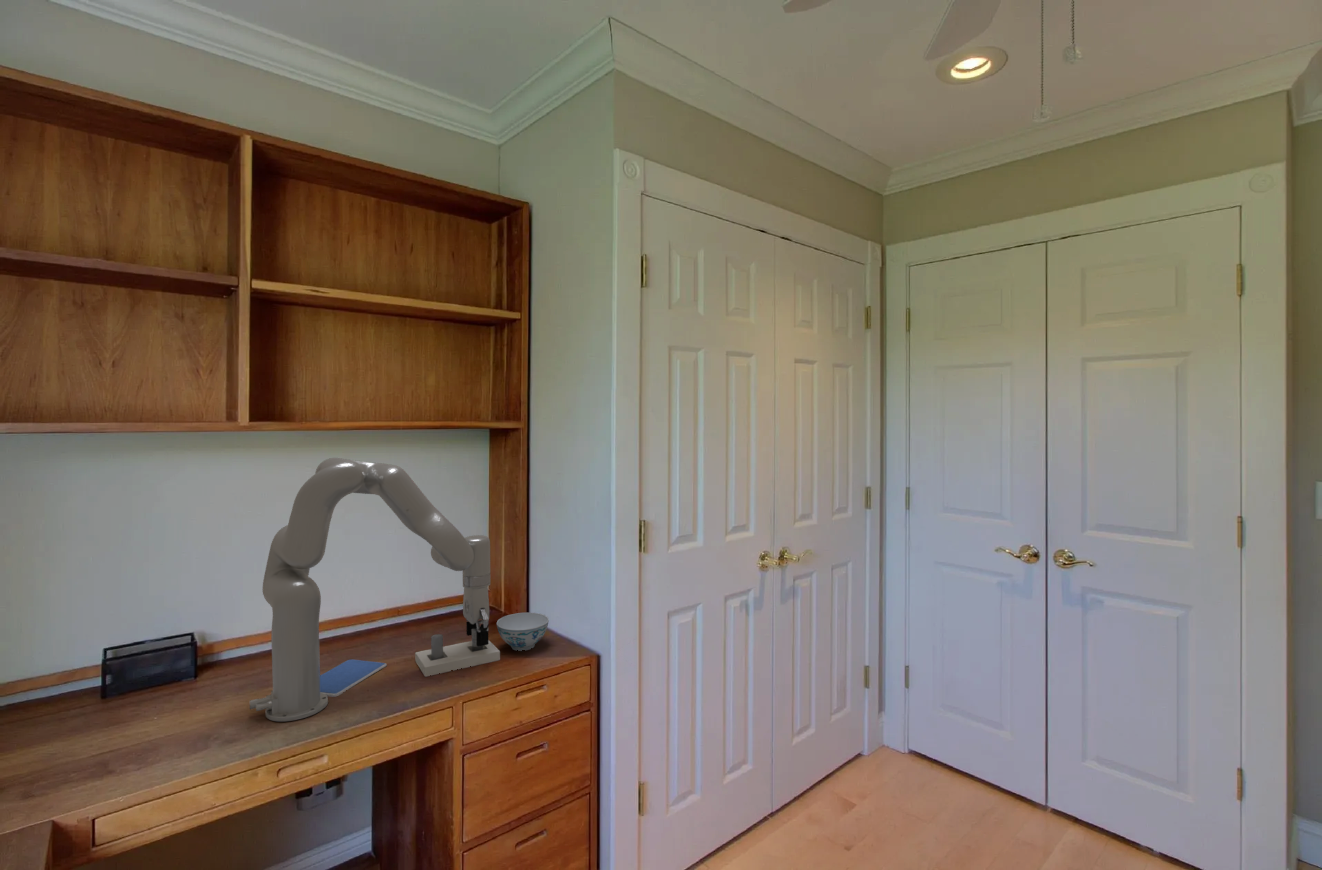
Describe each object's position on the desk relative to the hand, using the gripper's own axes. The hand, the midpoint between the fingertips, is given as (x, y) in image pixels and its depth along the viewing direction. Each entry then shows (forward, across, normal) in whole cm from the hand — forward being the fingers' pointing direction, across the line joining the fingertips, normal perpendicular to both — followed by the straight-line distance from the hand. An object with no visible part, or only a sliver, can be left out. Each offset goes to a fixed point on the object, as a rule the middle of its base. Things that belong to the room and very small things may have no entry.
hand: (477, 639), depth 176 cm
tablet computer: (+6, -5, -34) cm, 34 cm away
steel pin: (+5, 0, 0) cm, 5 cm away
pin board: (+5, 0, -6) cm, 7 cm away
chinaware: (+5, 0, +14) cm, 14 cm away
